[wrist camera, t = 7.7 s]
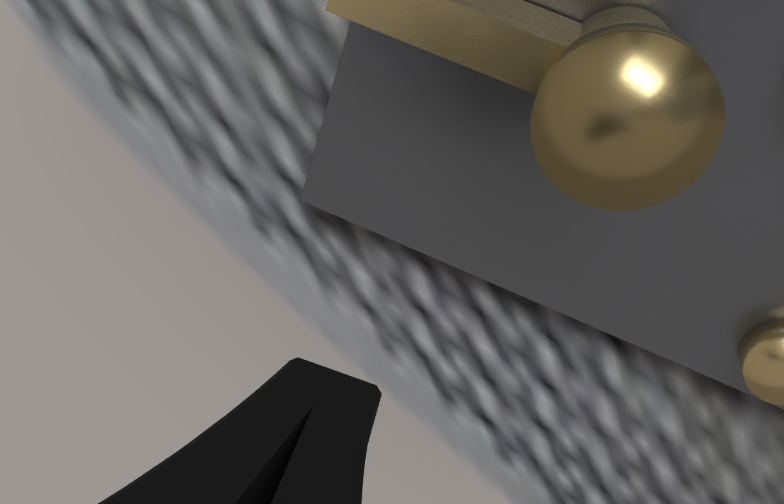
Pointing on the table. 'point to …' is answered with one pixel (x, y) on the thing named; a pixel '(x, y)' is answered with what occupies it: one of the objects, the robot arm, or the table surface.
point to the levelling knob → (580, 89)
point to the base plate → (567, 216)
